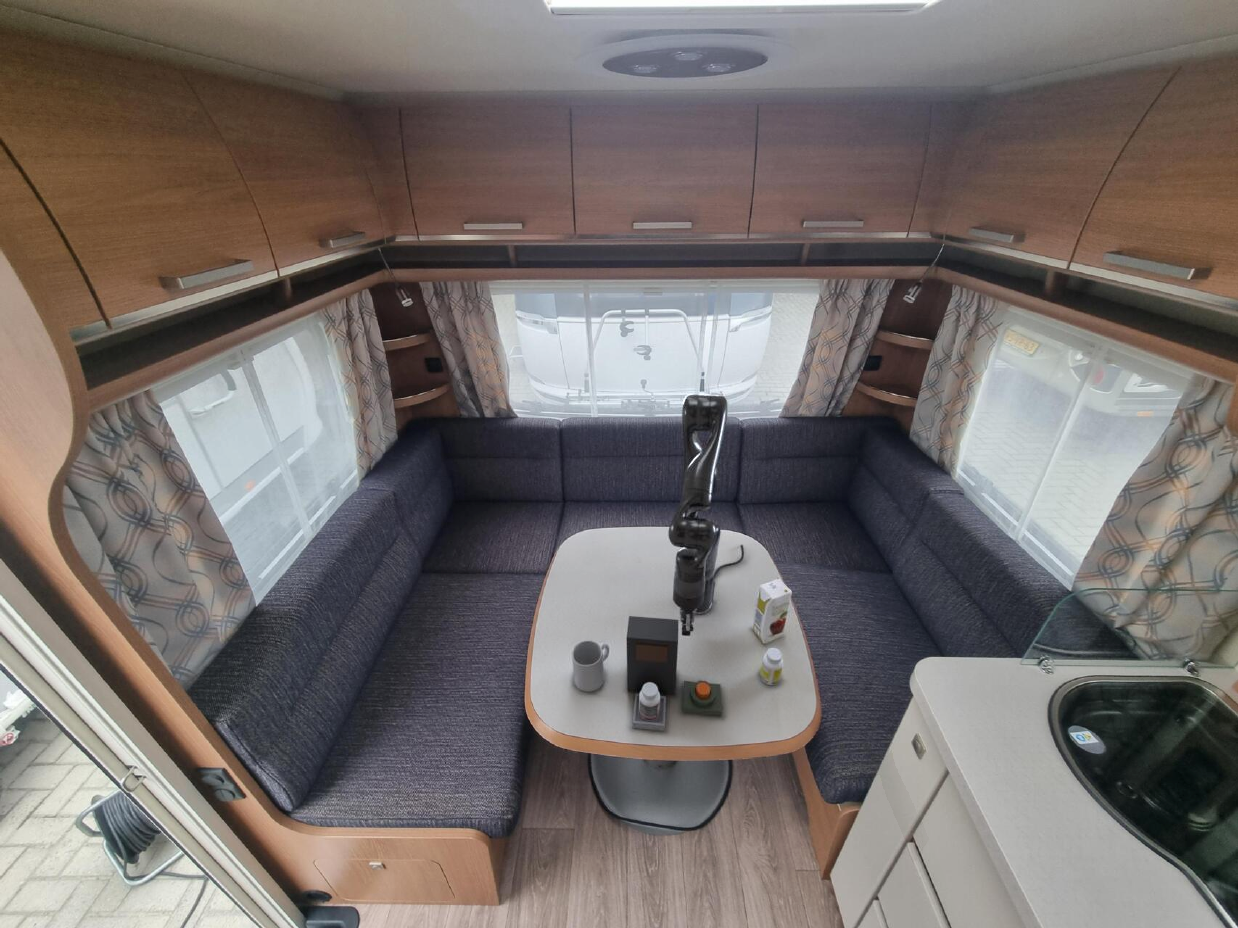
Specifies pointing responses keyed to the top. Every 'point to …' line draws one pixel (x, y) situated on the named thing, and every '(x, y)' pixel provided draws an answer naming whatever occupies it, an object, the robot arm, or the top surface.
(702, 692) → the button
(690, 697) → the button block
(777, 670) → the supplement bottle
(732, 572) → the top surface
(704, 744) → the top surface
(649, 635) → the coffee maker
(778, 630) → the juice carton
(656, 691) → the pill bottle
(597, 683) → the mug
